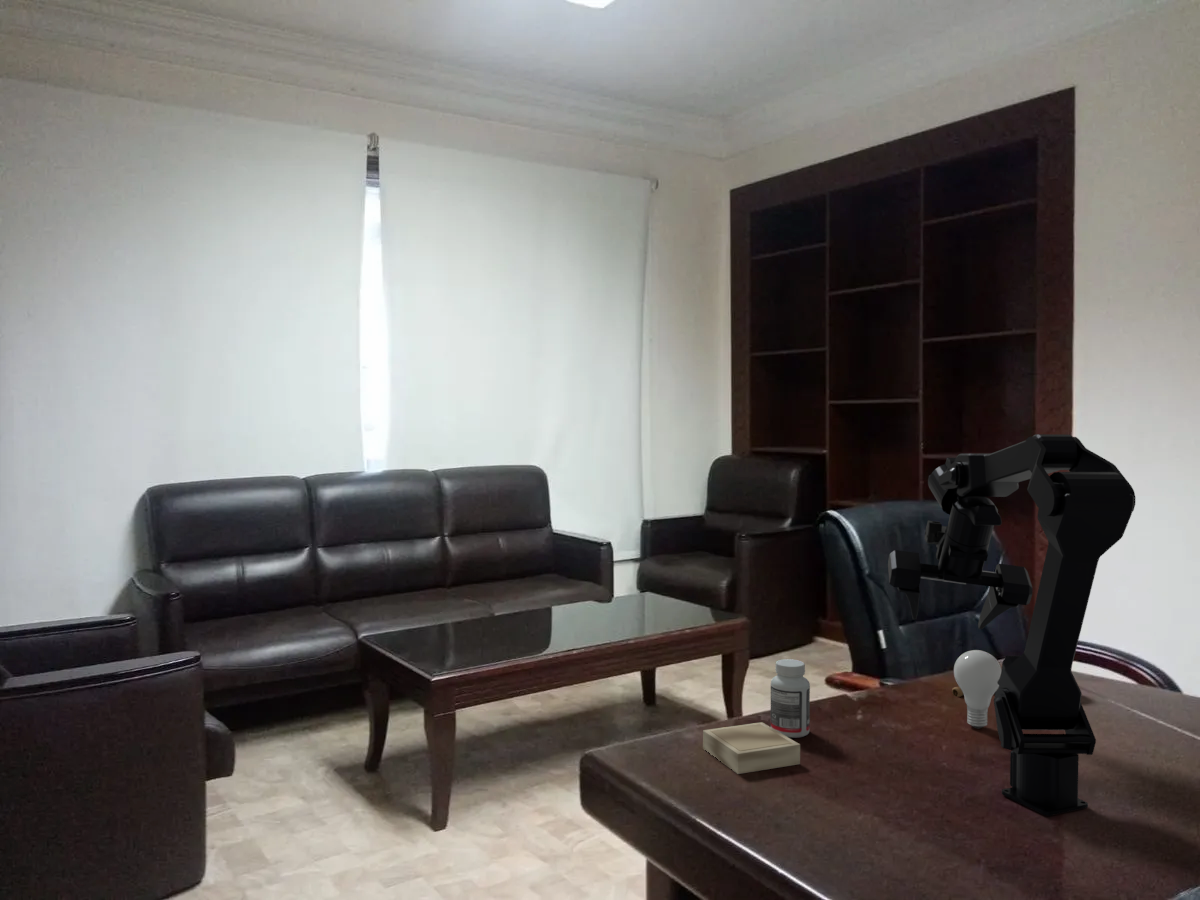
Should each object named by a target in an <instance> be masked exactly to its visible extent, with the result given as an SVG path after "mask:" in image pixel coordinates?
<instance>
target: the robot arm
mask: <svg viewBox="0 0 1200 900" xmlns="http://www.w3.org/2000/svg"><path fill="white" fill-rule="evenodd" d="M1065 470H1066V471H1065ZM1027 480H1029V483H1028V486H1027V490H1026V491H1027V492H1028V494H1029V496H1031V499H1032V501H1033V502H1034V503H1035V505H1036V507H1037V508H1038V510H1037V520H1038V522H1039V525H1040V527H1041V529H1042V531H1043V533H1044V536H1045V537H1046V540H1047V549H1046V553H1045V557H1044V561H1043V562H1044V563H1043V566H1042V572H1041V574H1040V575H1041V576H1040V580H1039V585H1038V588H1037V593H1036V598H1035V603H1034V607H1033V611H1032V616H1031V620H1030V625H1029V629H1028V634H1027V638H1026V642H1025V647H1024V651H1023V653H1021V654H1020V655H1006V656H1005V657H1004V659H1003V661H1002V663H1001V664H1002V666H1001V669H1002V671H1001V675H1000V678H999V680H998V682H997V683H998V685H999V687H998V689H997V690H996V692H995V693H994V698H993V707H994V714H995V720H996V728H997V735H998V739H999V741H1000V747H1001V748H1002V749H1004V750H1009V751H1010V754H1009V755H1010V760H1009V761H1010V764H1009V785H1010V787H1008V788H1003V789H1001V795H1002V796H1005V797H1006V798H1009V799H1011V800H1012V801H1015V802H1017V803H1019V804H1021V805H1023V806H1025V807H1027V808H1029V809H1031V810H1033V811H1035V812H1037V813H1039V814H1041V815H1043V816H1045V817H1046V816H1047V817H1048V816H1049V817H1050V816H1055V815H1060V814H1064V813H1065V814H1066V813H1069V812H1074V811H1078V810H1083V809H1087V808H1089V803H1088V801H1086V800H1083V799H1081V798H1079V755H1081V754H1082V755H1086V756H1087V755H1088V756H1093V755H1094V751H1095V748H1096V747H1095V746H1096V742H1097V739H1096V737H1095V734H1094V732H1093V729H1092V726H1091V724H1090V721H1089V720H1088V717H1087V715H1086V711H1085V709H1084V707H1083V705H1082V701H1081V700H1082V690H1081V688H1080V686H1079V684H1078V682H1077V680H1076V678H1075V676H1074V674H1073V672H1072V667H1073V663H1074V659H1075V655H1076V652H1077V651H1076V650H1077V648H1078V643H1079V639H1080V635H1081V631H1082V627H1083V623H1084V619H1085V615H1086V611H1087V608H1088V603H1089V599H1090V595H1091V593H1092V588H1093V584H1094V579H1095V575H1096V572H1097V569H1098V563H1099V560H1100V559H1101V558H1100V557H1102V556H1103V555H1104V554H1105V553H1106V552H1107V551H1108V550H1109V549H1111V548H1112V547H1113V546H1114V545H1116V544H1117V543H1118V542H1119V541H1120V540H1121V539H1122V538H1123V537H1124V534H1125V532H1126V529H1127V527H1128V524H1129V521H1130V519H1131V518H1132V514H1133V512H1134V510H1135V506H1136V494H1135V490H1134V488H1133V487H1132V485H1131V484H1130V482H1129V480H1127V479H1126V477H1125V476H1124V475H1123V474H1122V473H1121V471H1120V470H1119V468H1118V467H1117V466H1116V465H1115V464H1114V463H1112V462H1111V461H1109V460H1108V459H1105V458H1103V457H1102V456H1100V455H1098V454H1096V453H1095V452H1093V451H1091V450H1089V448H1087V447H1086V446H1085V445H1084V444H1083V443H1082V441H1081V440H1080V439H1079V438H1078V437H1077V436H1073V435H1071V434H1062V433H1061V434H1059V433H1058V434H1055V433H1054V434H1052V433H1051V434H1044V433H1043V434H1034V435H1033V436H1028V437H1027V438H1026V439H1025V440H1023V441H1021V442H1018V443H1015V444H1013V445H1010V446H1008V447H1005V448H1003V449H1000V450H997V451H995V452H992V453H959V454H958V455H957V456H956V457H946V461H945V463H944V464H941V465H940V466H938V467H936V468H935V469H934V470H933V471H932V472H931V474H930V475H928V479H927V485H928V488H929V490H930V491H931V493H932V495H933V496H934V498H935V499H936V501H937V503H938V505H939V507H940V509H941V510H942V512H944V513H945V514H946V515H947V514H948V516H949V519H948V523H947V526H945V525H942V523H941V522H940V521H938V520H937V521H936V520H927V523H926V527H925V531H924V541H925V543H926V544H930V545H935V546H936V548H937V549H936V553H935V558H936V560H937V561H938V560H939V562H938V565H935V564H929V563H921V559H920V553H919V552H914V551H906V550H898V549H894V550H893V551H891V552H890V553H889V555H888V562H887V568H888V569H887V570H888V583H889V585H890V586H891V587H893V588H897V591H898V592H900V593H904V594H905V595H906V598H907V600H908V602H909V606H910V612H911V618H912V620H917V617H918V613H919V601H920V594H921V593H920V592H921V591H920V590H921V589H920V584H921V579H924V580H930V581H931V580H932V581H937V582H938V581H939V582H945V583H954V584H960V585H967V584H968V585H969V584H970V585H975V586H977V585H978V586H984V587H988V588H989V589H988V593H987V596H986V598H985V601H984V603H983V606H982V608H981V611H980V614H979V618H978V622H977V623H978V624H977V626H978V627H977V628H978V630H983V629H984V628H985V627H986V626H987V625H989V624H990V623H992V621H994V619H996V618H997V617H998V616H1000V615H1002V614H1003V613H1005V612H1007V610H1009V609H1011V608H1013V609H1016V608H1018V607H1019V605H1022V606H1027V605H1029V604H1031V600H1032V597H1033V590H1034V589H1033V585H1032V581H1031V578H1030V575H1029V572H1028V570H1027V569H1026V568H1025V566H1021V565H1013V564H1012V565H1011V564H1005V563H997V564H996V566H995V570H994V571H989V570H984V565H985V562H987V560H988V557H989V554H988V550H989V546H990V542H991V539H992V535H993V531H994V527H996V526H1001V525H1002V523H1003V521H1002V517H1001V515H1000V514H999V513H998V512H999V509H998V508H997V506H996V505H995V503H994V502H993V501H992V500H991V499H990V498H989V497H991V498H992V497H994V498H996V497H997V498H999V497H1001V498H1002V497H1003V498H1005V497H1008V496H1010V495H1012V494H1013V493H1014V492H1016V491H1018V489H1020V488H1019V487H1020V485H1019V483H1020V482H1024V481H1027ZM1023 731H1064V732H1065V733H1024V732H1023Z"/></svg>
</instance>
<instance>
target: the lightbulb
mask: <svg viewBox="0 0 1200 900" xmlns="http://www.w3.org/2000/svg"><path fill="white" fill-rule="evenodd" d="M1001 671H1002V666H1001V665H1000V663H999V660H997V658H996V657H995V656H994V655H992V654H990V653H989V652H986V651H984V650H979V649H973V650H968V651H965V652H963V653H962V654H961V655H960V656H959V657H957V659H956V661H955V662H954V666H953V676H954V680H955V682H956V683H957V685H958V687H960V688H961V690H962V692H963V694H964V695H963V696H964V697H963V698H964V703H965V704H966V709H967V710H966V715H967V717H966V718H967V719H966V720H967V721H966V723H967V724H968V725H970V726H971V727H972V728H974V729H982V728H984V727H986V726H988V713H989V712H988V710H989V707H990V705H991V700H992V698H993V696H994V695H995V693H996V691H997V689H998V687H999V685H998V683H997V682H998V680H999V678H1000V675H1001Z"/></svg>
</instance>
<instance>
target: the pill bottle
mask: <svg viewBox="0 0 1200 900" xmlns="http://www.w3.org/2000/svg"><path fill="white" fill-rule="evenodd" d="M774 670H775V674H777V675H775V676H773V677H772V678H771V680H770V727H771V728H773V729H774V730H776V731H778V732H780V733H781V734H783V735H785V736H786V737H788V738H790V739H793V738H795V739H796V738H797V739H798V738H804V737H805V736H808V735H809V734H810V723H811V721H810V720H811V719H810V716H811V715H810V713H811V712H810V710H811V709H810V708H811V707H810V704H811V703H810V693H811V692H810V691H811V685H810V681H809V680H808V679H807V678H806V677H805V676H804V675H805V673H806V667H805V662H803V661H801V660H798V659H792V658H791V659H790V658H788V659H787V658H786V659H779V660H776V662H775V669H774Z"/></svg>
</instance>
